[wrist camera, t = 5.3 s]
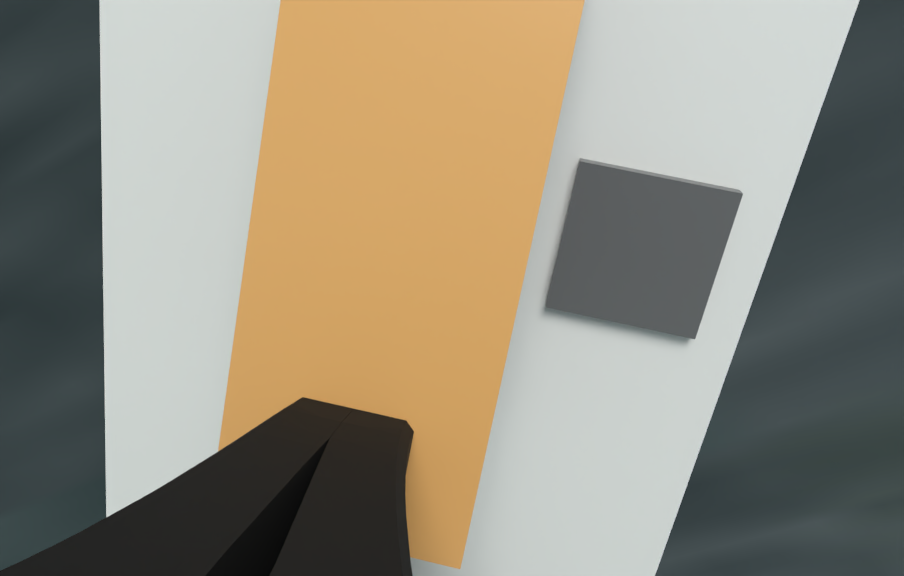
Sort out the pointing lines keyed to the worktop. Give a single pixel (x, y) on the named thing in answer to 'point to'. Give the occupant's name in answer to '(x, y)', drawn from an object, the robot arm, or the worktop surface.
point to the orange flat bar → (399, 226)
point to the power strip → (548, 268)
